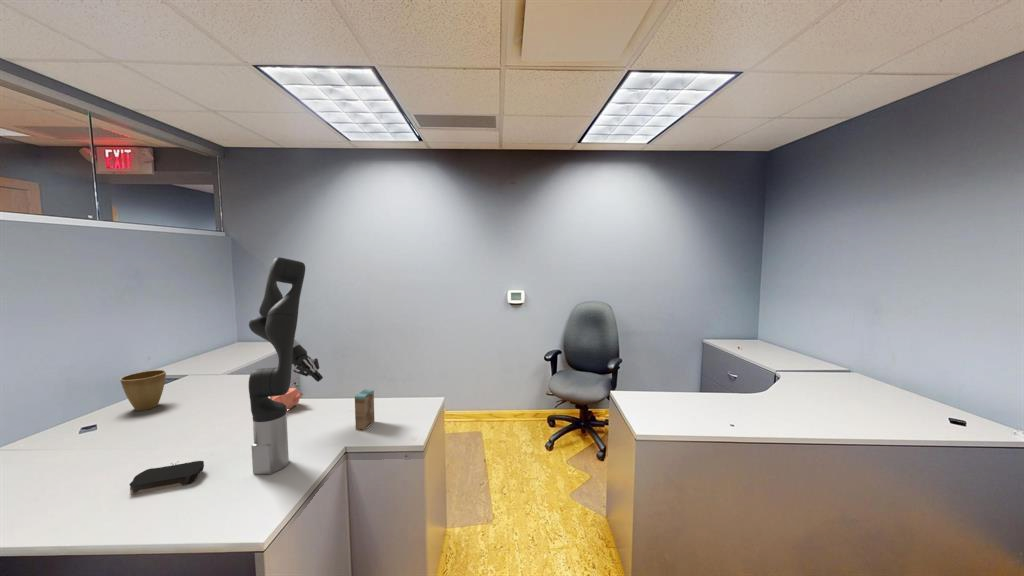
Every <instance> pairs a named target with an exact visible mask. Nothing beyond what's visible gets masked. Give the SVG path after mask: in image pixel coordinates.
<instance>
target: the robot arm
mask: <svg viewBox="0 0 1024 576" xmlns="http://www.w3.org/2000/svg"><path fill="white" fill-rule="evenodd" d="M305 274H306V265H305V263H304V262H303V261H299V260H295V259H290V258H285V257H281V256H278V257H276V258H274V259H273V260H272V263H271V264H270V268H269V272H268V276H267V281H266V285H265V290H264V295H263V298H262V300H261V304H260V307H259V311H258V312H259V315H258V316H255V317H254V318H251V319H250V321H249V322H248V327H249V329H250V330H251V332H252V333H253V334H255V335H256V336H258V337H260V338H262V339H263V340H265V341H267V342H269V343H270V344H271V345H272V346H273V348H274V349H275V352H276V353H277V358H278V365H277V367H265V368H256V369H254V370H252V372H251V373H250V375H249V378H248V396H249V401H250V412H251V416H252V429H253V432H252V433H253V444H251V459H252V460H251V463H252V464H251V465H252V474H255V475H256V474H257V475H272V474H273V473H275V472H278V471H281V470H282V469H283V468H286V467H287V465H289V462H290V458H289V436H288V433H289V432H288V416H287V415H288V413H287V412H288V411H287V410H286V405H285V404H283V403H280V402H276V401H273V400H271V399H270V397H271V396H280V395H285V394H286V393H287V392H288V390H289V388H291V381H292V371H293V372H294V373H295V374H299V375H302V376H305V377H311V378H312V379H314V381H316V382H320V381H322V380H323V378H324V376H323V375H322V374H320V372H319V369H320V364H319V359H318V358H316V357H315V358H314V359H313V358H311V357H310V356H309V355H308V351H307V350H306V349H305V348H304V347H303V346H302V345H301V344H300V342H298V341H297V340H296V338H295V337H296V331H297V324H298V317H299V307H300V298H301V293H302V289H303V284H304V279H305V276H306V275H305ZM277 282H279V283H285V284H288V285H289V284H290V285H291V288H290V290H289V291H288V292H287V293H286V294H285V296H283V294H282V292H281V290H280V289H279V287H278V284H277ZM293 366H294V367H295V368H294V369H293V370H292V367H293Z"/></svg>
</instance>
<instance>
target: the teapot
mask: <svg viewBox="0 0 1024 576" xmlns="http://www.w3.org/2000/svg"><path fill="white" fill-rule="evenodd" d="M303 395H304V394H303V392H299V391H298V389H297V388H296V387H289V390H288V392H287V393H286V394H285V395H280V396H271V397H269V398H270V399H271V400H273V401H276V402H280V403H283V404H285V405H286V410H287V409H290V410H291V409H292V408H294V407H293V406H295V405H296V406H297V405H298V404H299V402H300V398H301V397H303Z"/></svg>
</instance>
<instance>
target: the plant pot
mask: <svg viewBox="0 0 1024 576" xmlns="http://www.w3.org/2000/svg"><path fill="white" fill-rule="evenodd" d="M166 373H167V370H165V369H164V370H163V369H153V370H145V371H139V372H136V373H131V374H128V375H124V376H123V377H120V379H119V380H120V383H121V386H122V389H123V391H124V395H125V396H126V398H127V399H128V401H129V403H130V404H131V406H132V407H133V409H134V410H135V411H147V410H151V409H154V408H156V407H157V406H159V403H160V401H161V398H162V394H163V392H164V387H165V383H166V375H167V374H166Z"/></svg>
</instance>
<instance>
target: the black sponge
mask: <svg viewBox="0 0 1024 576" xmlns="http://www.w3.org/2000/svg"><path fill="white" fill-rule="evenodd" d="M204 467H205V463H204V460H195V461H190V462H189V461H188V462H184V463H177V464H172V465H168V466H167V465H166V466H160V467H153V468H151V467H150V468H148V469H145V470H143V471H141V472H140V473H137V474H136V475H135V476H134V477H133V480H132V481H131V482H130V483H129V491H130V494H131V495H136V494H140V493H146V492H150V491H151V492H152V491H157V490H163V489H169V488H174V487H179V486H183V487H184V486H187V485H190V484H193V483H194V482H195V481H196V480H197V479H198V477H199V475H200V474H201V473H202V472H203V471H204Z"/></svg>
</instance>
